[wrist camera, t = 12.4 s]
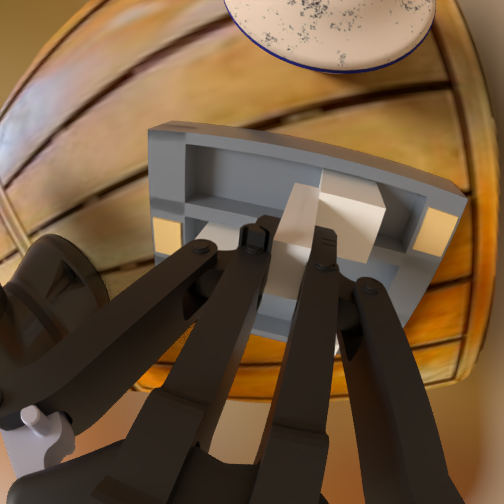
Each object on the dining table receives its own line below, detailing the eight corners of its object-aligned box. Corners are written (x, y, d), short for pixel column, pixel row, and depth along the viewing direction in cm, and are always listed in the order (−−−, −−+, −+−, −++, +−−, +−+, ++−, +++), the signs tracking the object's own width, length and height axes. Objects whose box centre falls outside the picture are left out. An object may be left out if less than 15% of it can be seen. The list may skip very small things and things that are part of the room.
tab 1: (213, 252, 25) (189, 289, 21) (214, 214, 23) (188, 247, 19) (254, 262, 25) (236, 302, 20) (259, 223, 22) (241, 261, 18)
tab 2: (313, 212, 21) (306, 249, 17) (323, 165, 19) (320, 191, 15) (360, 224, 20) (366, 263, 16) (374, 178, 18) (386, 208, 14)
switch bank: (175, 285, 31) (159, 308, 28) (171, 120, 21) (146, 129, 18) (379, 335, 28) (380, 363, 25) (451, 181, 18) (469, 200, 15)
